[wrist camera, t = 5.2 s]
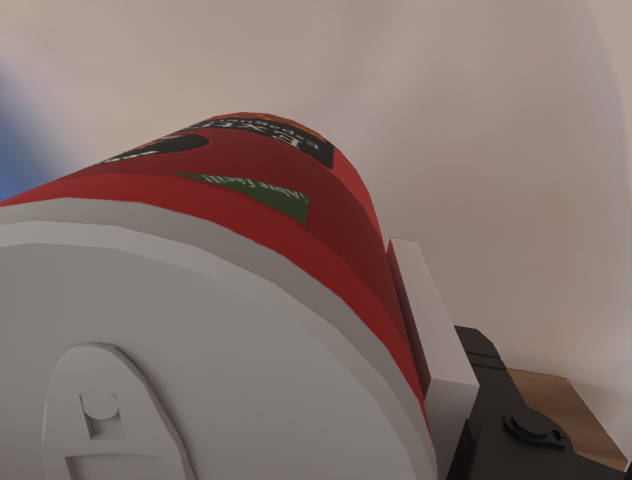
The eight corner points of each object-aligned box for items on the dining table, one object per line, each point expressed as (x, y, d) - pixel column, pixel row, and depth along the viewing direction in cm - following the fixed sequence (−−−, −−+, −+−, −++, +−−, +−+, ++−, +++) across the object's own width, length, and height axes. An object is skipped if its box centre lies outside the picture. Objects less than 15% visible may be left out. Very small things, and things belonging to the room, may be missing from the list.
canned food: (334, 72, 14) (323, 96, 4) (406, 311, 17) (517, 717, 6) (98, 154, 15) (-403, 343, 5) (198, 367, 18) (1, 790, 7)
